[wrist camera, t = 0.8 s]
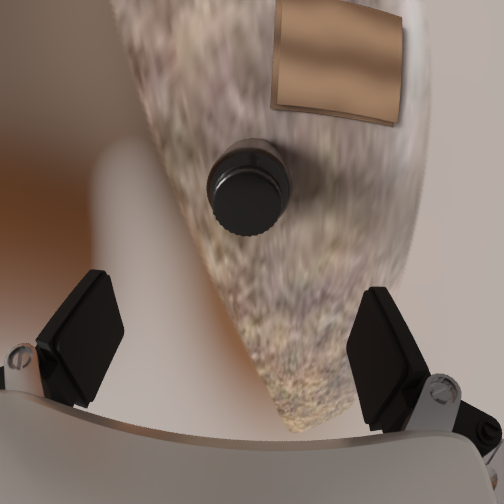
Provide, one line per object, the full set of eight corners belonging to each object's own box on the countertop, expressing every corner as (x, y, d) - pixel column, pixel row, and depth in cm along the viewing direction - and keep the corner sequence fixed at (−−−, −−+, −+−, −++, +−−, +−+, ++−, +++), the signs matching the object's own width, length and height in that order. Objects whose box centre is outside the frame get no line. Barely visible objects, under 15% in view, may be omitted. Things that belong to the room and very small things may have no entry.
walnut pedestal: (276, -3, 20) (277, -13, 17) (394, 21, 20) (406, 15, 17) (270, 108, 26) (271, 109, 24) (389, 125, 26) (401, 128, 24)
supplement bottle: (297, 176, 30) (317, 219, 19) (245, 210, 32) (236, 268, 21) (259, 124, 27) (259, 134, 17) (207, 161, 29) (175, 195, 19)
